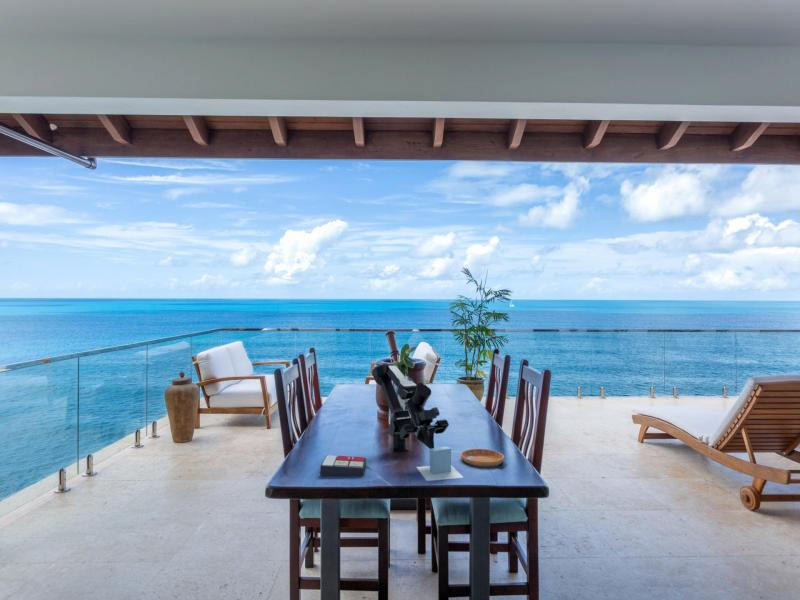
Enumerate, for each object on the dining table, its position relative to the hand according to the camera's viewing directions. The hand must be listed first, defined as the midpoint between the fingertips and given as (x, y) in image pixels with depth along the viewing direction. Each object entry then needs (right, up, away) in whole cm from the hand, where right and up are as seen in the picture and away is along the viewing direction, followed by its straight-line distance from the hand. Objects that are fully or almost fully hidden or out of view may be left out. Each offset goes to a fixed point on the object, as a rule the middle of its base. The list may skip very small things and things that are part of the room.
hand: (432, 449), depth 163 cm
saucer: (+19, -8, +7) cm, 22 cm away
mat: (+2, -7, -5) cm, 9 cm away
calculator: (-32, -8, -1) cm, 33 cm away
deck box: (+2, -6, -5) cm, 8 cm away
